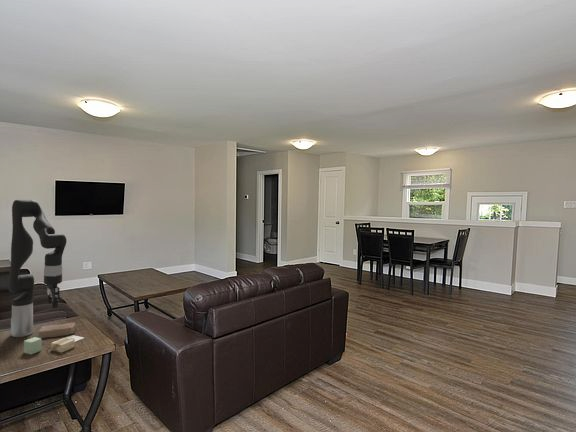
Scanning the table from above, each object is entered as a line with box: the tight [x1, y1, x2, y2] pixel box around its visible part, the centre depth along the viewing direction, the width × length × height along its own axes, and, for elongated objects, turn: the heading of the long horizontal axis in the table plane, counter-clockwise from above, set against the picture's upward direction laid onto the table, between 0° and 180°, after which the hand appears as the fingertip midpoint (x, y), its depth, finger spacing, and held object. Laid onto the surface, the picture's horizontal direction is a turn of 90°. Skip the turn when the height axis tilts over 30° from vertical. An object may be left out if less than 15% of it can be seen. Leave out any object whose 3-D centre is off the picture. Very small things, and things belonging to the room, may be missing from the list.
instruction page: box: [65, 334, 85, 343], centre depth 180 cm, size 9×9×1 cm
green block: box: [23, 336, 43, 355], centre depth 165 cm, size 5×5×6 cm
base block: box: [50, 337, 75, 354], centre depth 170 cm, size 7×7×4 cm
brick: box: [37, 322, 77, 339], centre depth 188 cm, size 17×8×5 cm, turn 115°
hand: (52, 305), depth 167 cm, fingers open, 8 cm apart
